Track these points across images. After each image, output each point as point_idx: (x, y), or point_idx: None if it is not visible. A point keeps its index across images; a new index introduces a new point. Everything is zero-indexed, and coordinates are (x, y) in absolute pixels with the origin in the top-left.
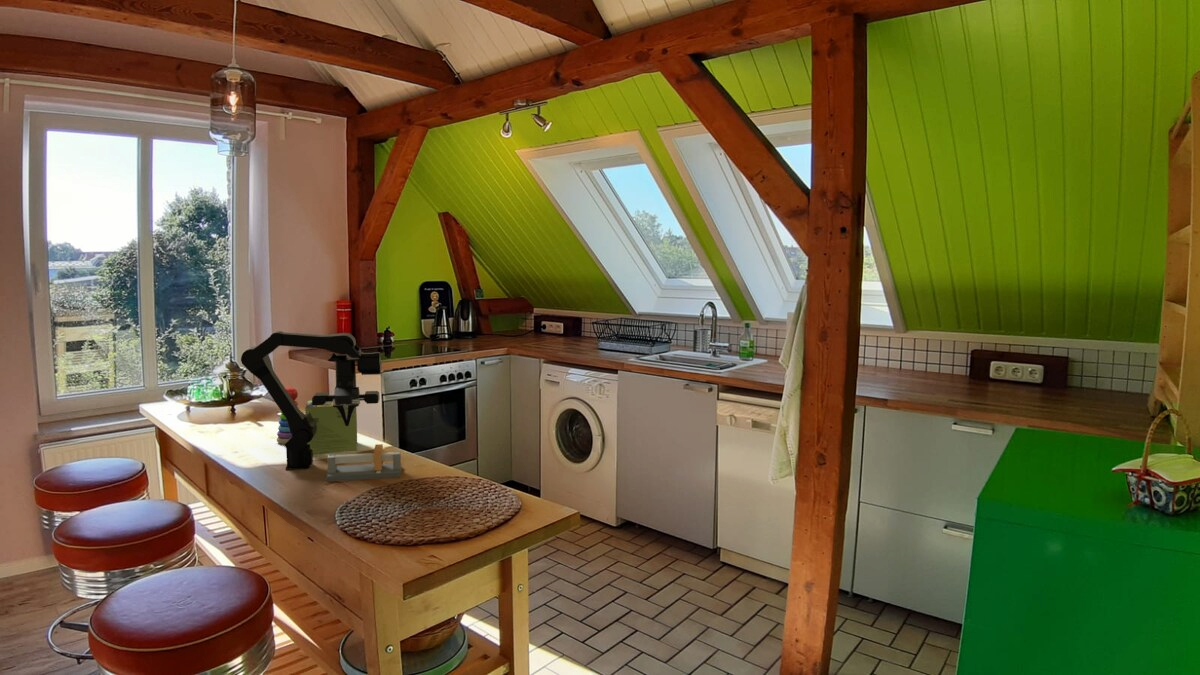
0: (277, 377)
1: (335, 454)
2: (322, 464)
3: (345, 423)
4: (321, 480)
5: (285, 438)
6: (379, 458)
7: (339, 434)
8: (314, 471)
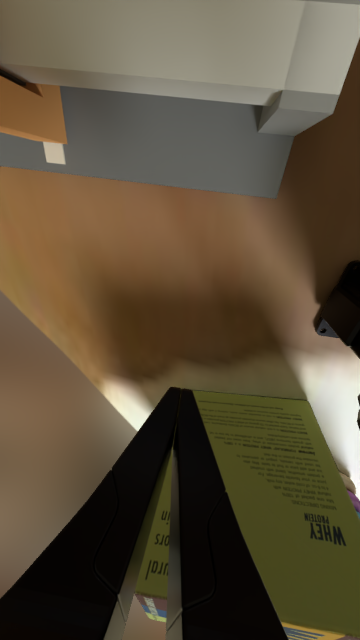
0: None
1: (284, 109)
2: (285, 300)
3: (191, 405)
4: None
5: None
6: None
7: (218, 442)
8: (336, 220)
